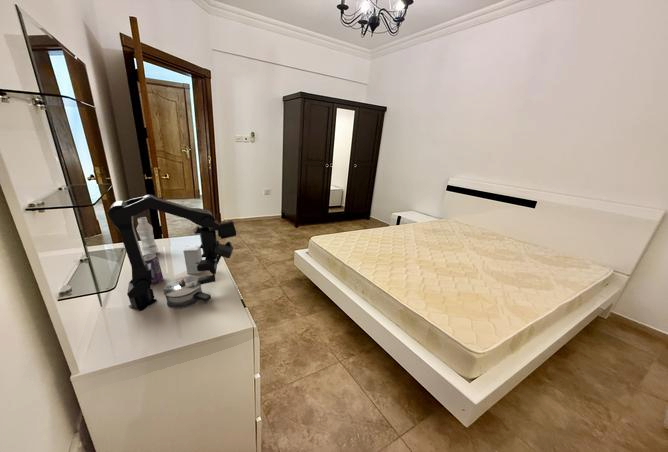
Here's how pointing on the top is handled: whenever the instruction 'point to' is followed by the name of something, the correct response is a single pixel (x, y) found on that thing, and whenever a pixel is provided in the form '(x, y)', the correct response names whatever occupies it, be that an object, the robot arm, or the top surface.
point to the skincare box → (192, 258)
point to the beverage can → (154, 267)
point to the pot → (188, 300)
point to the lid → (186, 285)
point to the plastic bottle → (146, 236)
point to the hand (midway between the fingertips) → (214, 274)
